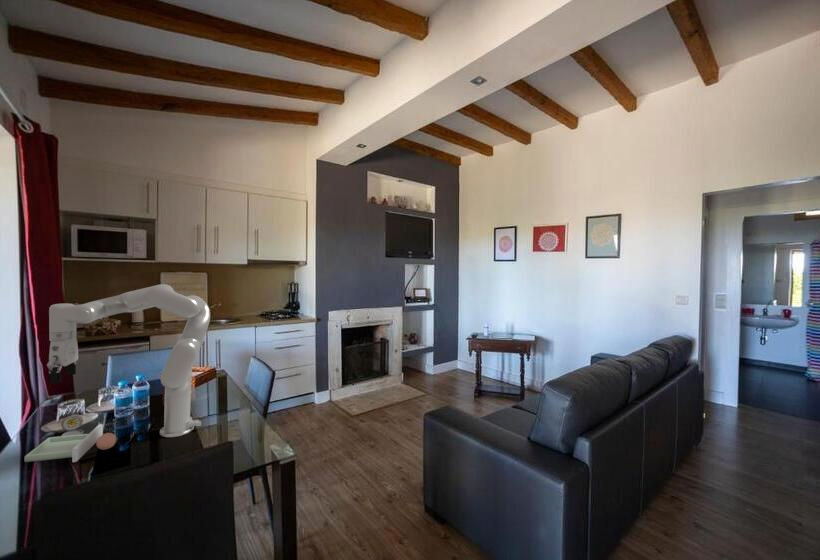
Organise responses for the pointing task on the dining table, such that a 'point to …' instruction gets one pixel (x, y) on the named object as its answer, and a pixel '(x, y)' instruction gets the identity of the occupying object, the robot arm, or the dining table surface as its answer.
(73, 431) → the pocket watch
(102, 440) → the ball
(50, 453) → the tray
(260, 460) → the dining table surface
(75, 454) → the wall
